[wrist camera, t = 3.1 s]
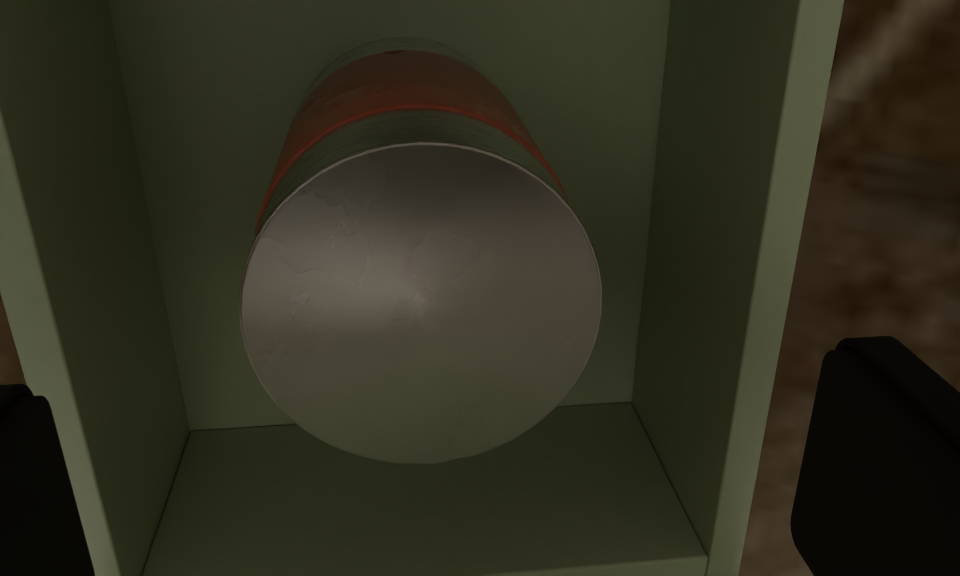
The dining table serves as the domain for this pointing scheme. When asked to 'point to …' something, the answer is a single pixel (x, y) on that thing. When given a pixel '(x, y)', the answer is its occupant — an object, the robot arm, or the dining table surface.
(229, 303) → the chest
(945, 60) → the dining table surface
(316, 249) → the can
